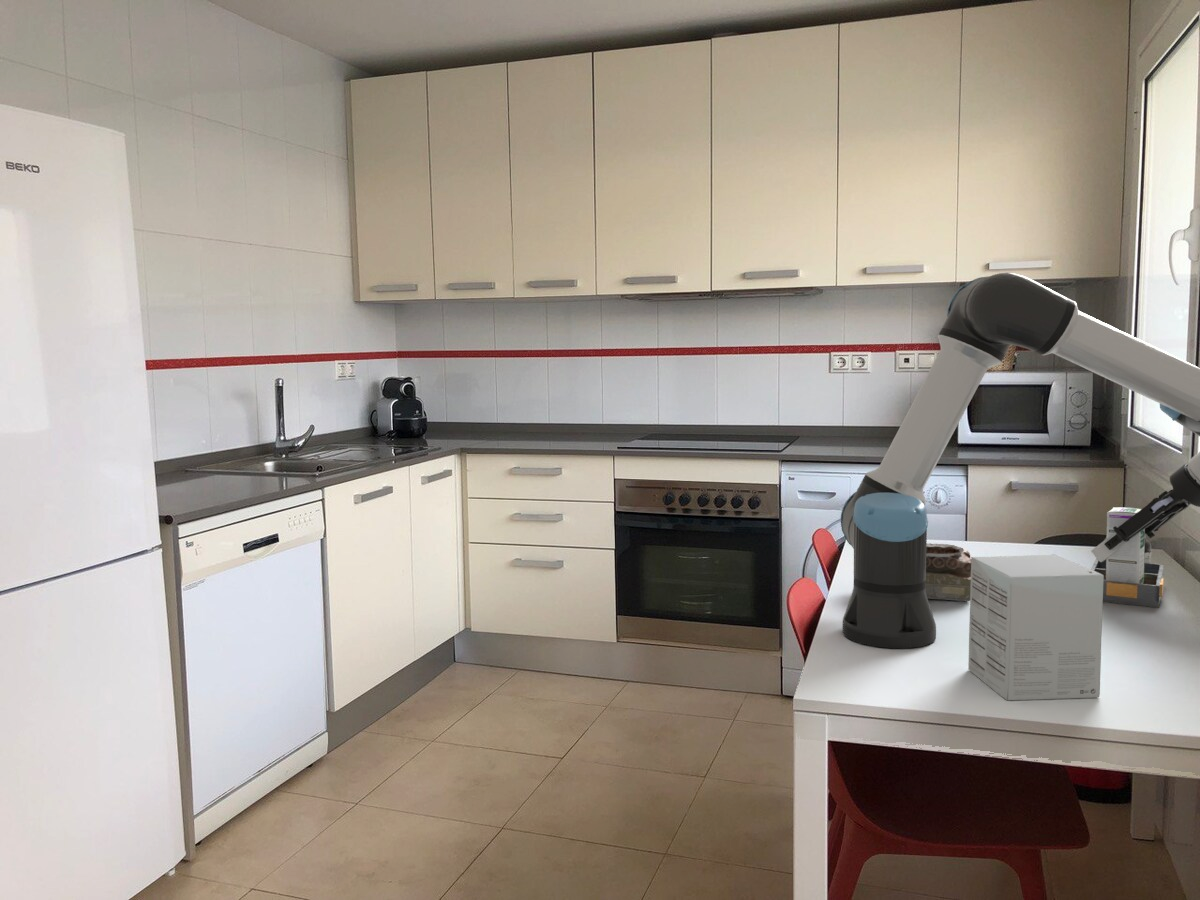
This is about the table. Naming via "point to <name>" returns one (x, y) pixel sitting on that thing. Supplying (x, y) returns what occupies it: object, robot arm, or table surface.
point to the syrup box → (1125, 550)
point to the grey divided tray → (1133, 586)
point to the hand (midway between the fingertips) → (1105, 553)
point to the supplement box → (1036, 627)
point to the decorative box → (947, 572)
